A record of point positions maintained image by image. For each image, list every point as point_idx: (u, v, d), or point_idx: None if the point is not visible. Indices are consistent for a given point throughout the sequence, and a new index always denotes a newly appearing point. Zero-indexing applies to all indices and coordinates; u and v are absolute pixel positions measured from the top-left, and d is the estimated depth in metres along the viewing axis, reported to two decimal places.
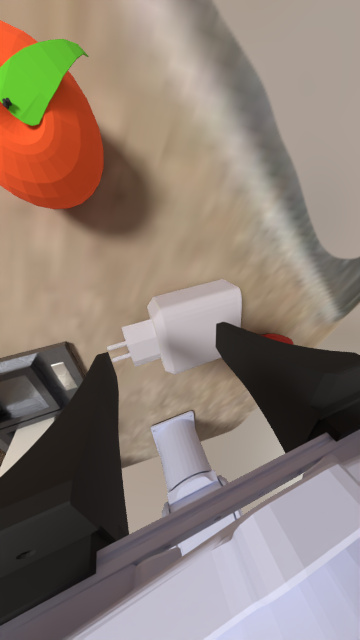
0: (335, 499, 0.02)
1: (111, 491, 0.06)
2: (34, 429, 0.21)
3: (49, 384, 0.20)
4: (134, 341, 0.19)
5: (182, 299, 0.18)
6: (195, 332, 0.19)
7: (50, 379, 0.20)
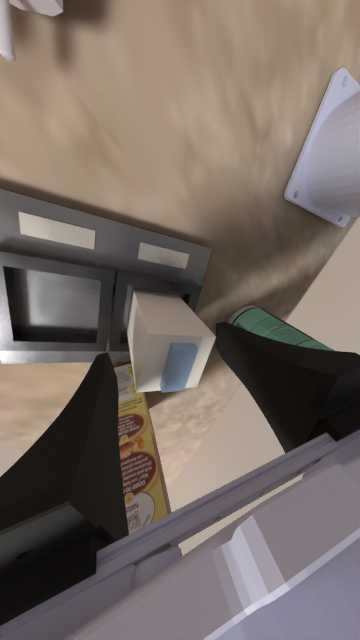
0: (335, 499, 0.02)
1: (111, 491, 0.06)
2: (131, 317, 0.14)
3: (61, 259, 0.12)
4: None
5: None
6: None
7: (55, 253, 0.12)
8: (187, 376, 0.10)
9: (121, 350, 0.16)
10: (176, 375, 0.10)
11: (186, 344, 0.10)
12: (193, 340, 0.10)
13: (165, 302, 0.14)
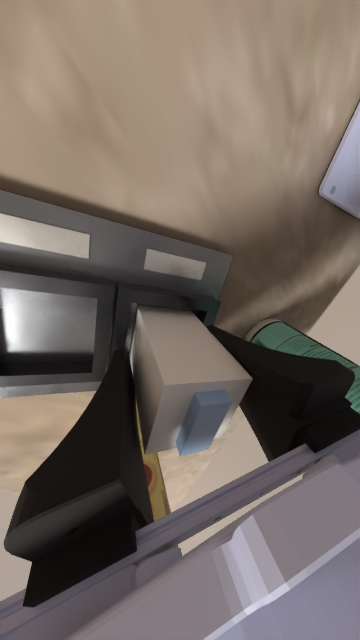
0: (335, 499, 0.02)
1: (140, 478, 0.06)
2: (135, 341, 0.11)
3: (46, 271, 0.09)
4: None
5: None
6: None
7: (38, 264, 0.09)
8: (214, 433, 0.08)
9: None
10: (200, 434, 0.07)
11: (215, 393, 0.07)
12: (223, 386, 0.07)
13: (178, 323, 0.11)
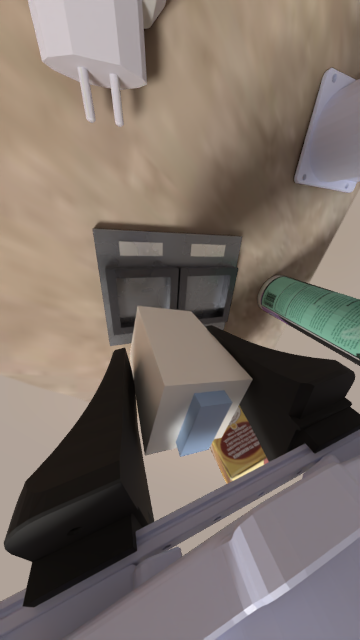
0: (335, 499, 0.02)
1: (140, 478, 0.06)
2: (136, 342, 0.11)
3: (144, 267, 0.17)
4: (65, 28, 0.09)
5: None
6: None
7: (139, 264, 0.17)
8: (214, 434, 0.08)
9: None
10: (200, 435, 0.07)
11: (215, 393, 0.07)
12: (223, 387, 0.07)
13: (178, 323, 0.11)
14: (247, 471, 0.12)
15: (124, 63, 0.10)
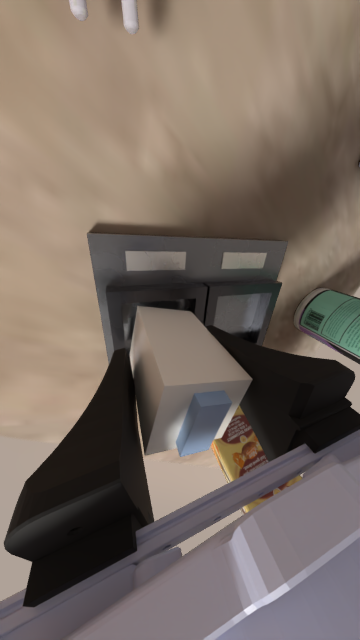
0: (335, 499, 0.02)
1: (140, 478, 0.06)
2: (136, 342, 0.11)
3: (159, 285, 0.12)
4: None
5: None
6: None
7: (153, 281, 0.13)
8: (214, 434, 0.08)
9: None
10: (200, 435, 0.07)
11: (214, 393, 0.07)
12: (223, 387, 0.07)
13: (178, 323, 0.11)
14: None
15: None
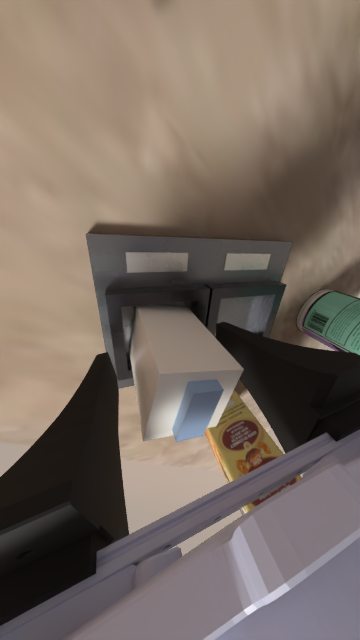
0: (335, 499, 0.02)
1: (111, 491, 0.06)
2: (135, 337, 0.12)
3: (161, 287, 0.12)
4: None
5: None
6: None
7: (154, 283, 0.12)
8: (208, 420, 0.08)
9: None
10: (195, 421, 0.08)
11: (207, 382, 0.08)
12: (215, 376, 0.08)
13: (174, 319, 0.11)
14: None
15: None
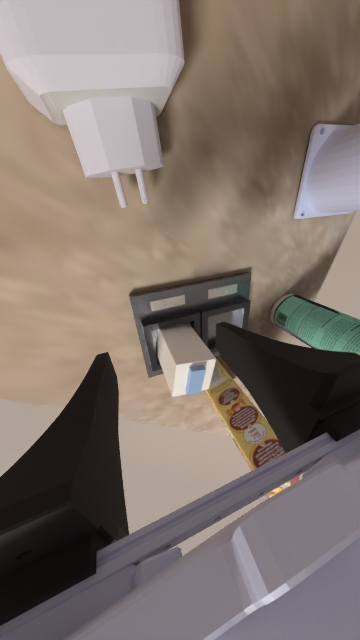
0: (335, 499, 0.02)
1: (111, 491, 0.06)
2: (160, 346, 0.21)
3: (171, 316, 0.21)
4: (103, 154, 0.11)
5: None
6: None
7: (167, 313, 0.21)
8: (201, 384, 0.17)
9: None
10: (195, 385, 0.17)
11: (198, 366, 0.16)
12: (202, 363, 0.17)
13: (181, 334, 0.20)
14: None
15: (147, 162, 0.12)
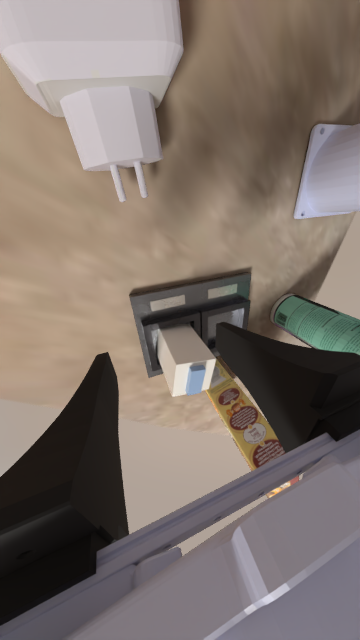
0: (335, 499, 0.02)
1: (111, 491, 0.06)
2: (160, 346, 0.21)
3: (171, 316, 0.21)
4: (101, 146, 0.11)
5: None
6: None
7: (167, 313, 0.21)
8: (201, 384, 0.17)
9: None
10: (195, 385, 0.17)
11: (198, 366, 0.16)
12: (202, 363, 0.17)
13: (181, 334, 0.20)
14: None
15: (146, 154, 0.12)
